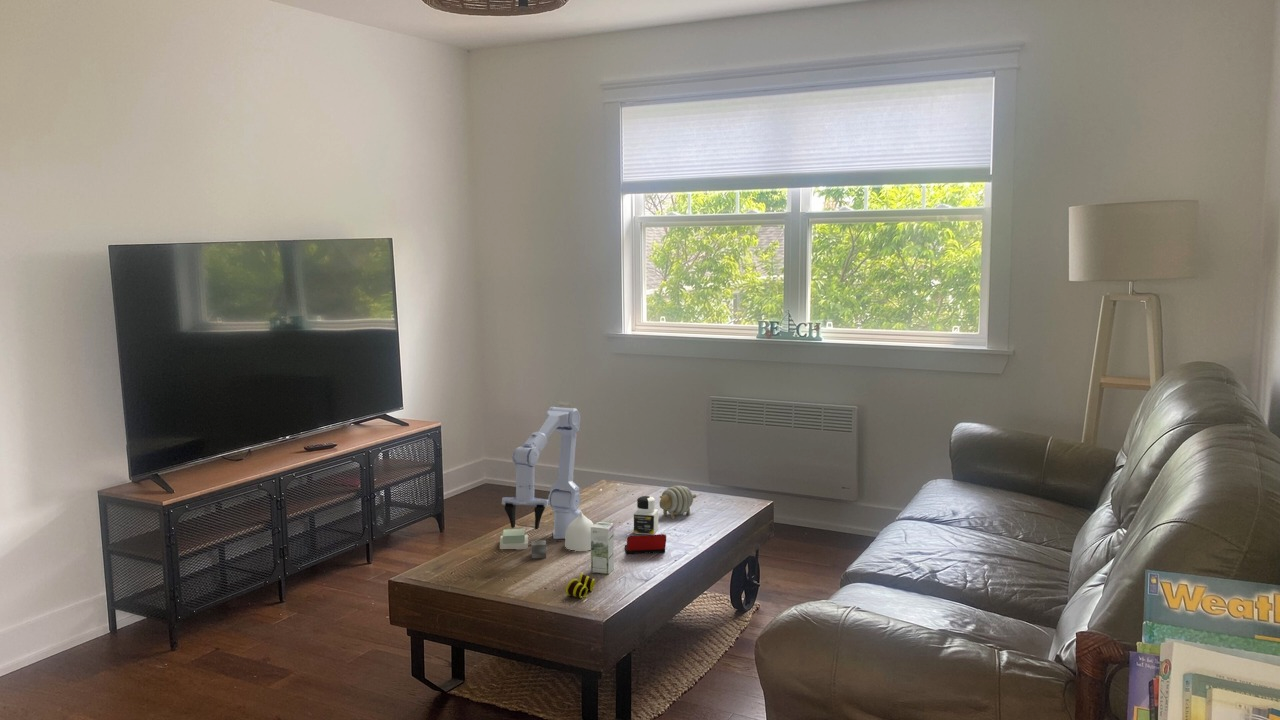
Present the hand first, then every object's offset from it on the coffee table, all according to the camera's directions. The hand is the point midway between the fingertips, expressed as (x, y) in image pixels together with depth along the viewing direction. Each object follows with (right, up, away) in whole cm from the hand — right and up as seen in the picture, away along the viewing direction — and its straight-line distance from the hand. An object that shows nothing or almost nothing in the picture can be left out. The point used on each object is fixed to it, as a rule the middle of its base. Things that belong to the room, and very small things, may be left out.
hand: (525, 527), depth 281 cm
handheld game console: (+38, -9, +7) cm, 40 cm away
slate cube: (+4, -10, +3) cm, 11 cm away
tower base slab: (-5, -9, +14) cm, 17 cm away
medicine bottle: (+38, -7, +28) cm, 48 cm away
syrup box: (+25, -11, -11) cm, 29 cm away
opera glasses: (+20, -13, -28) cm, 37 cm away
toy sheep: (+50, -4, +46) cm, 68 cm away
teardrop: (+17, -9, +12) cm, 23 cm away
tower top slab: (-5, -6, +13) cm, 15 cm away
